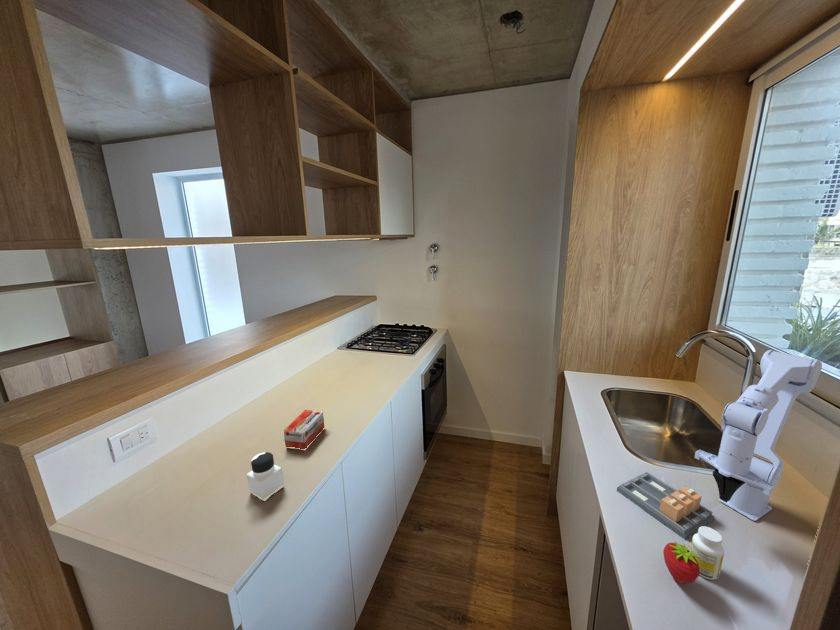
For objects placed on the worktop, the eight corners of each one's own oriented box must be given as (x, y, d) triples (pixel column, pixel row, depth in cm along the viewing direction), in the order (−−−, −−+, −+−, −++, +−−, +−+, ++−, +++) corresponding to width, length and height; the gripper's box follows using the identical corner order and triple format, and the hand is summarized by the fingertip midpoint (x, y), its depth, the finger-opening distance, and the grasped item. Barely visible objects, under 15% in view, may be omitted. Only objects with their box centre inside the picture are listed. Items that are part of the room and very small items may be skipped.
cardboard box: (682, 498, 93) (685, 484, 92) (699, 508, 90) (702, 494, 88) (676, 501, 92) (679, 487, 91) (693, 511, 89) (696, 497, 87)
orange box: (665, 508, 90) (667, 494, 89) (681, 519, 86) (684, 504, 85) (659, 511, 89) (661, 497, 88) (675, 523, 85) (678, 508, 84)
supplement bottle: (704, 556, 78) (711, 522, 76) (725, 580, 73) (734, 544, 71) (681, 558, 78) (688, 524, 76) (701, 581, 73) (709, 545, 70)
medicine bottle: (284, 487, 103) (279, 453, 101) (264, 503, 98) (258, 467, 95) (270, 479, 107) (265, 446, 104) (249, 494, 101) (243, 459, 98)
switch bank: (644, 476, 104) (645, 470, 103) (713, 520, 88) (715, 513, 87) (616, 490, 98) (617, 484, 98) (684, 539, 83) (686, 532, 82)
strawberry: (683, 566, 76) (690, 531, 74) (702, 601, 69) (711, 563, 67) (654, 561, 77) (660, 526, 75) (669, 595, 70) (677, 557, 68)
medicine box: (305, 452, 120) (303, 432, 118) (285, 449, 122) (282, 430, 120) (325, 428, 134) (323, 410, 133) (307, 426, 136) (305, 409, 134)
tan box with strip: (673, 503, 92) (676, 489, 90) (690, 513, 88) (693, 499, 87) (668, 506, 90) (670, 492, 89) (684, 517, 87) (687, 502, 86)
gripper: (691, 439, 84) (682, 485, 88) (768, 476, 71) (754, 527, 75) (707, 432, 87) (698, 476, 90) (784, 466, 74) (770, 516, 78)
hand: (724, 499), depth 83 cm, fingers closed
